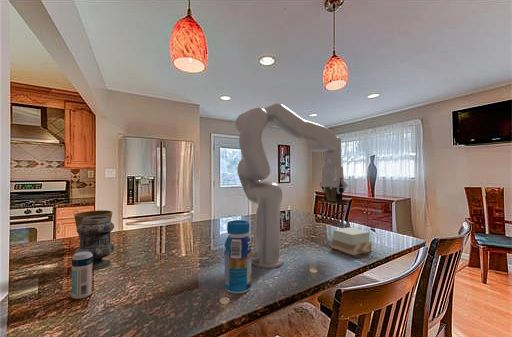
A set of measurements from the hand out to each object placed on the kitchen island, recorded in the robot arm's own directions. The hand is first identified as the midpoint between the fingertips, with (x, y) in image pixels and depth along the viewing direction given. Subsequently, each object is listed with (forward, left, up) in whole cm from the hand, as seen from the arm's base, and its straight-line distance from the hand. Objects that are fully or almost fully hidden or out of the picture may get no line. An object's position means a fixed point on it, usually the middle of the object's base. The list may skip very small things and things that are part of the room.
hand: (333, 201), depth 114 cm
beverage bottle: (-55, -15, -22) cm, 61 cm away
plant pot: (-98, +53, -22) cm, 114 cm away
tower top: (+7, -5, -18) cm, 20 cm away
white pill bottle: (-96, +1, -22) cm, 99 cm away
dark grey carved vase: (-95, +26, -22) cm, 101 cm away
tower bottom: (+7, -5, -23) cm, 24 cm away
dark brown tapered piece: (0, 0, -2) cm, 2 cm away
